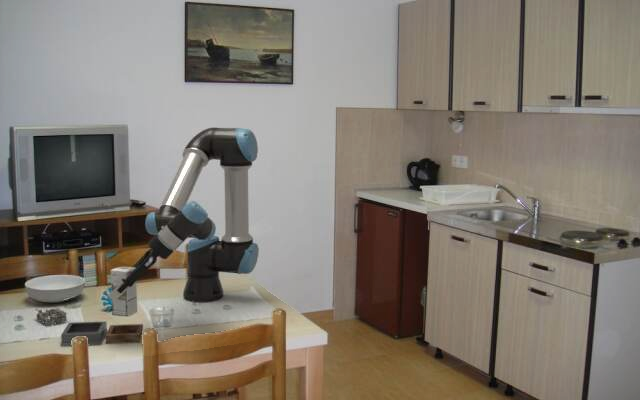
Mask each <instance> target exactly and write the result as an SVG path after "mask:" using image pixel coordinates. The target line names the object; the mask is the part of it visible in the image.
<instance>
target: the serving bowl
mask: <svg viewBox="0 0 640 400" xmlns="http://www.w3.org/2000/svg"><path fill="white" fill-rule="evenodd" d="M85 286H86V279H85V278H84V277H81V276H78V275H73V274H54V275H53V274H51V275H45V276H39V277H34V278H31V279H29V280H27V281H26V282H25V283H24V288H25V291H26V293H27V296H29V298H31V299H33V300H35V301H39V302H43V303H49V304H55V303H57V304H58V303H62V302H65V301H64V299H67V298H70V297H73V296H76V295H78V296H79V295H81V294H82V292H83V291H84V289H85Z"/></svg>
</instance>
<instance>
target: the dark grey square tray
mask: <svg viewBox="0 0 640 400" xmlns="http://www.w3.org/2000/svg"><path fill="white" fill-rule="evenodd" d="M107 325H108V324H107V320H106V321H81V322H80V321H79V322H73V321H72V322H68V323H67V325H66V326H65V328H64V330H63V331H62V332H61V335H60V336H61V337H60V339H61V342H60V347H72V346H71V340H72V338H74V337H76V336H86V337H87V338H88V344H89V345H88V346H102V345H103V343H104V341H105V340H106V334H107V332H108V327H107Z"/></svg>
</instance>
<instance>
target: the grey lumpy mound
mask: <svg viewBox="0 0 640 400" xmlns="http://www.w3.org/2000/svg"><path fill="white" fill-rule="evenodd" d="M35 311H37V312H38V313H37V314H36V321H37V320H41V321H40V323H41V322H46V323H45V326H46V325H54V326H55V325H56V324H55V323H58V324H61V323H63V324H65V323H66V322H68V321H67V320H68V319H67V313H68V312H65V311H64V310H62V309H61V308H59V307H55V308H50V309H46V310H45V311H42V309H37V308H35ZM48 316H49V317H48ZM47 317H48V318H47ZM49 318H50V319H49ZM65 321H66V322H65Z"/></svg>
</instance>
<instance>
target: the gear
mask: <svg viewBox="0 0 640 400" xmlns="http://www.w3.org/2000/svg"><path fill="white" fill-rule="evenodd" d="M107 290H108V291H107ZM107 290H104V291H103V292H102V294H103V295H102V296H101V299H100V300H101V301H103V302H102V306H103V307H105V306H107V307H106V310H108V311H112V299H111V298H109V297H108V295H109V294H110V293H111V292H112V291H111V286H110V287H108V288H107ZM108 292H109V293H108Z"/></svg>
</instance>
